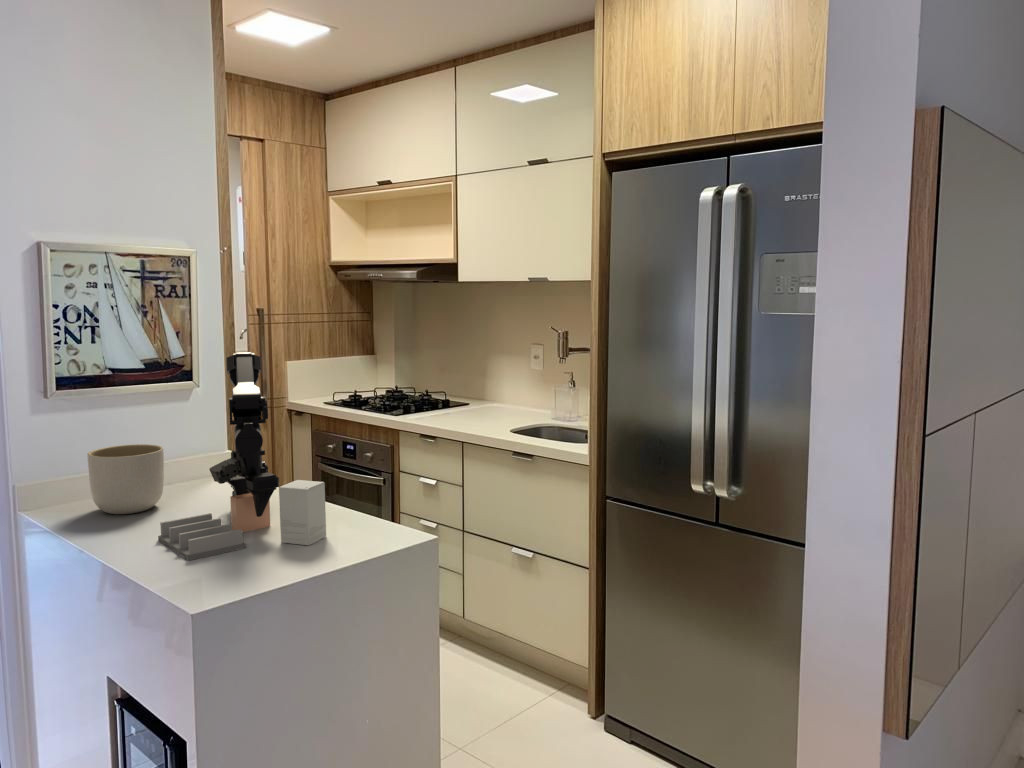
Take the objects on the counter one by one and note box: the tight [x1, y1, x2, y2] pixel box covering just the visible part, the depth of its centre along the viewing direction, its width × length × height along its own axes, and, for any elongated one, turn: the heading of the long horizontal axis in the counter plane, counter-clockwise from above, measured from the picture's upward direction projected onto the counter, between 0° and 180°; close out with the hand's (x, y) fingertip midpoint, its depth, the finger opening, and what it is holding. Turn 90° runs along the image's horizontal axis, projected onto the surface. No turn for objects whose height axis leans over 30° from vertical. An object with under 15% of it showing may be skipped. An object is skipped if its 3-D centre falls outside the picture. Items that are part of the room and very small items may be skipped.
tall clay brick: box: [230, 493, 271, 533], centre depth 176 cm, size 8×3×8 cm, turn 133°
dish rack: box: [157, 513, 246, 561], centre depth 165 cm, size 12×18×4 cm, turn 43°
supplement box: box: [278, 479, 327, 546], centre depth 168 cm, size 7×7×13 cm
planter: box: [87, 443, 165, 515], centre depth 191 cm, size 17×17×15 cm
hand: (250, 512), depth 176 cm, fingers open, 9 cm apart
